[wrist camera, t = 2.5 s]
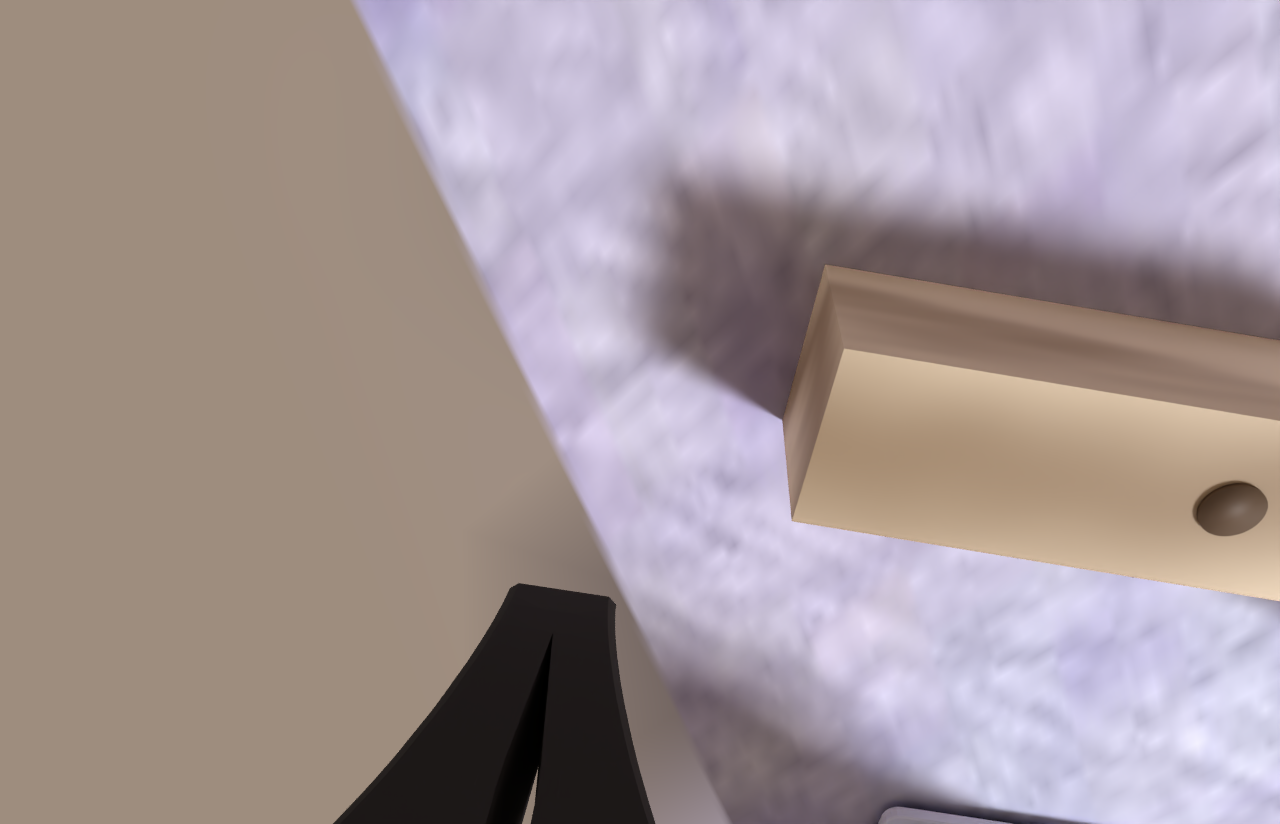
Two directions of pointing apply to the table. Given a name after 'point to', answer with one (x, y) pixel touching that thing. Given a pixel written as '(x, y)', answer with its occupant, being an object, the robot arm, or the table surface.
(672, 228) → the table surface
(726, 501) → the table surface
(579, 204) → the table surface
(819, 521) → the bar
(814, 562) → the table surface
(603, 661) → the robot arm
